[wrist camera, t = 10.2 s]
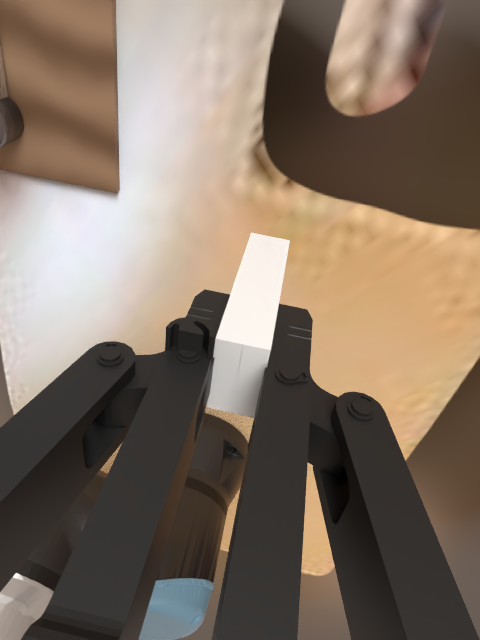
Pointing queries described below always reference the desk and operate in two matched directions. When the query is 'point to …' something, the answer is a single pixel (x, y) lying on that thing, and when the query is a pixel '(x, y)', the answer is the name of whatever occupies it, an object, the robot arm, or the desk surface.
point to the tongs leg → (8, 113)
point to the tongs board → (63, 89)
